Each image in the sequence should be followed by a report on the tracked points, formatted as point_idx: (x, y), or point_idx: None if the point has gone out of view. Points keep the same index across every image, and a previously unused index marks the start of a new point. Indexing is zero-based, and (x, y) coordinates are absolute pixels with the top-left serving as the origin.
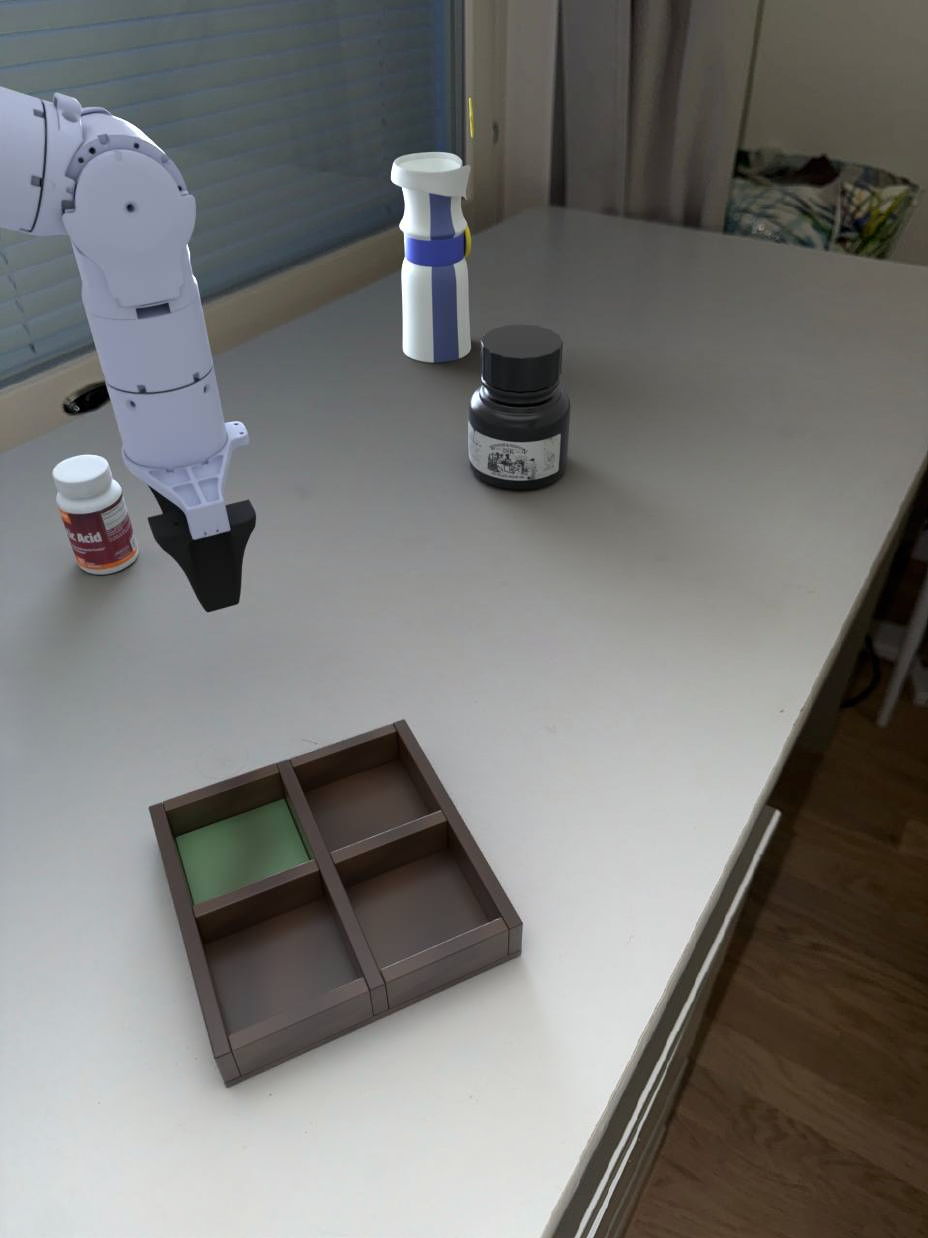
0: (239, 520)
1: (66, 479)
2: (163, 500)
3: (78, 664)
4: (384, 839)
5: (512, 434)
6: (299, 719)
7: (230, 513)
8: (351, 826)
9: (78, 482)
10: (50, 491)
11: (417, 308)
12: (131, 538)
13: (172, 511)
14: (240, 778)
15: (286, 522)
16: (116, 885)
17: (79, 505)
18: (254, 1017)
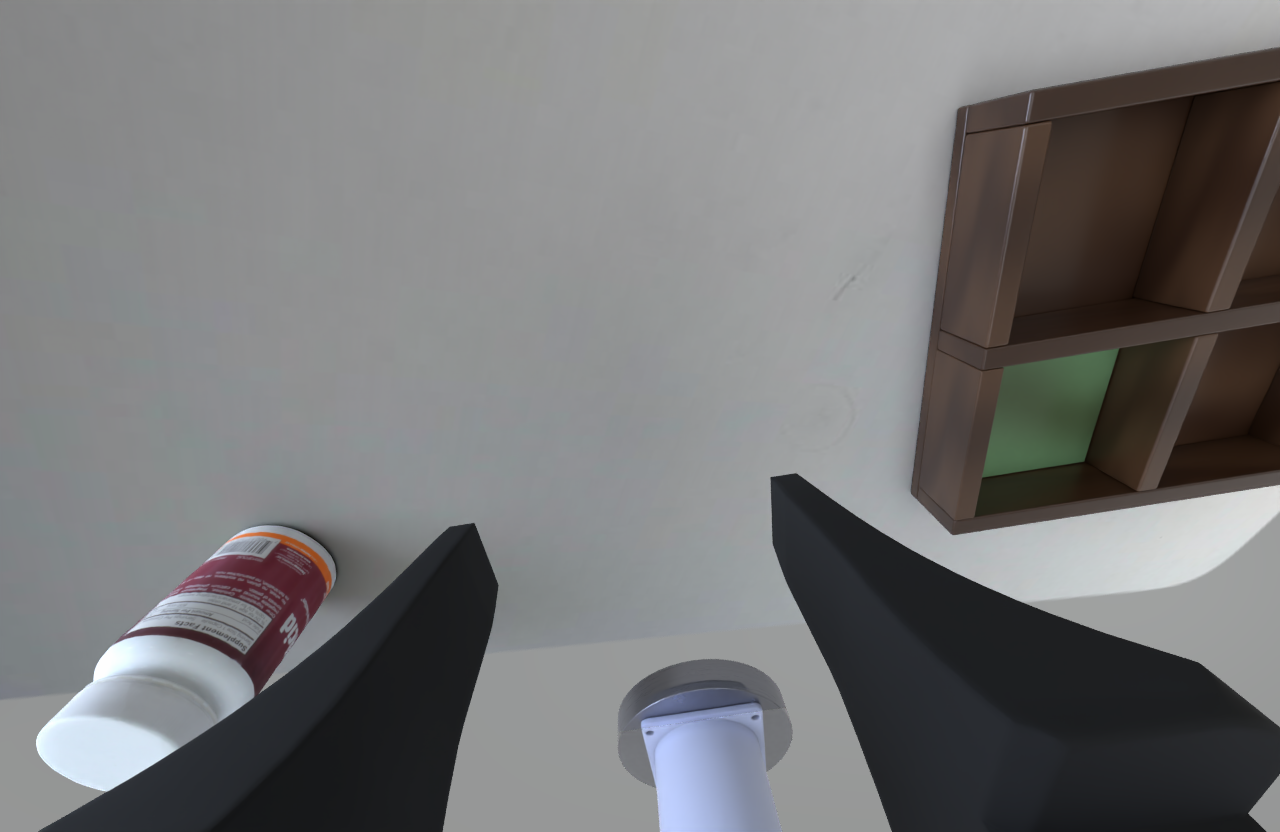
0: (1249, 783)
1: None
2: (450, 735)
3: (555, 584)
4: (1258, 215)
5: None
6: (787, 298)
7: (1131, 809)
8: (1066, 254)
9: None
10: (71, 647)
11: None
12: (256, 556)
13: (463, 678)
14: (979, 425)
15: (115, 232)
16: (945, 532)
17: (234, 703)
18: (1219, 414)
